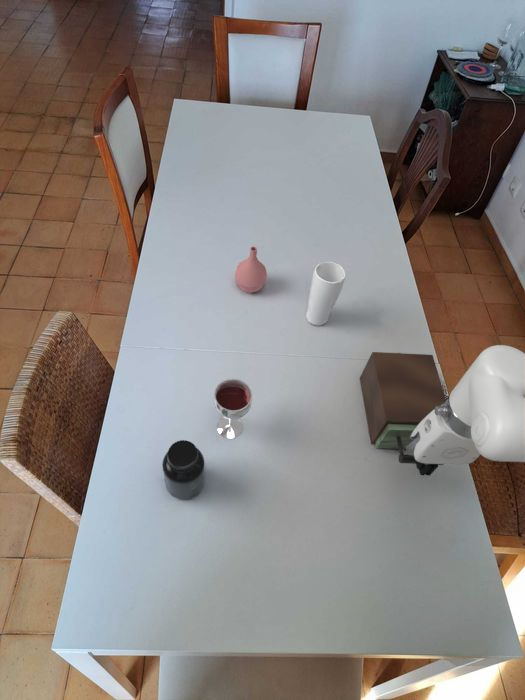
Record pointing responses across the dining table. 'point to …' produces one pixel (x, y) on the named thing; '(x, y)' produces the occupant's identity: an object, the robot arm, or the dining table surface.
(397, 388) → the cabinet
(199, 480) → the supplement bottle
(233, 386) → the wineglass
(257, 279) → the pink bulb vase
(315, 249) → the dining table surface
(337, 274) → the drinking glass
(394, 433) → the drawer
